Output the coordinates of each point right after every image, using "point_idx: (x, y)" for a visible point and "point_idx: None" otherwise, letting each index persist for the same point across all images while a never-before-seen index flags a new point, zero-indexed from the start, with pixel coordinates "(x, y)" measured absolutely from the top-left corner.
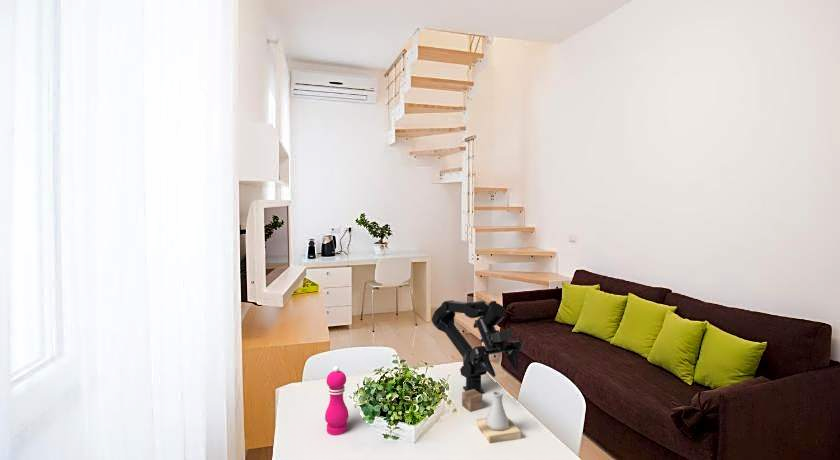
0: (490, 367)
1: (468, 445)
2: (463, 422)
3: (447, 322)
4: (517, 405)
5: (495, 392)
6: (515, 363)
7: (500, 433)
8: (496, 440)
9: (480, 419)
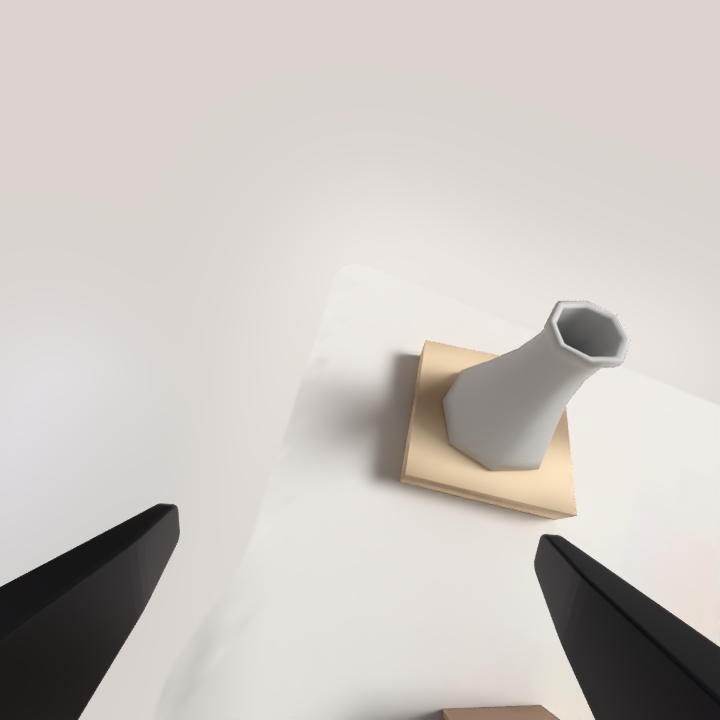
0: (701, 638)
1: (633, 407)
2: None
3: None
4: (210, 614)
5: (591, 360)
6: (75, 591)
7: None
8: None
9: (558, 501)
